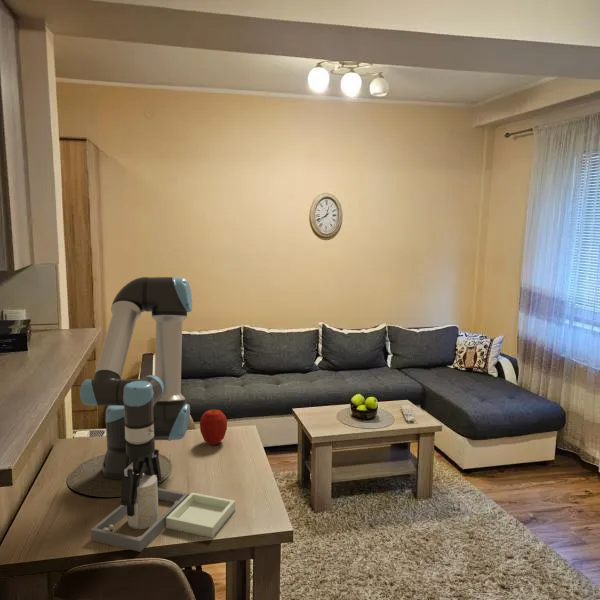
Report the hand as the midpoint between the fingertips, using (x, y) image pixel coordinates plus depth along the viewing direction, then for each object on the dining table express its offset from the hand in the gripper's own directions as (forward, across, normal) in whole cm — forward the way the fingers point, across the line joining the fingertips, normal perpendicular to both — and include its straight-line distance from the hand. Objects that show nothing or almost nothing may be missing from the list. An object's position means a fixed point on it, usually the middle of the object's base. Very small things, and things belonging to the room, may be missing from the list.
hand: (143, 516), depth 144 cm
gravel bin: (+1, 0, 0) cm, 1 cm away
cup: (+1, 0, 0) cm, 1 cm away
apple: (+1, +52, +5) cm, 52 cm away
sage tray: (+1, +6, -15) cm, 16 cm away
